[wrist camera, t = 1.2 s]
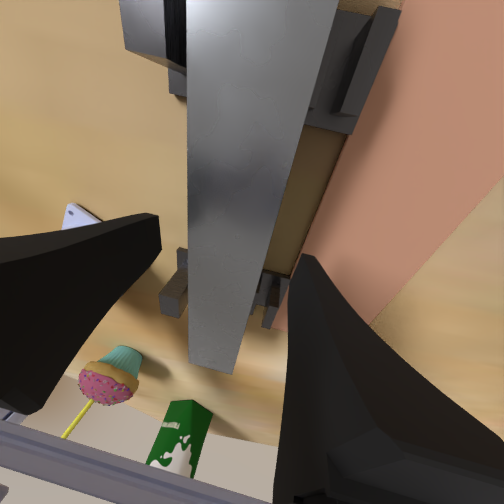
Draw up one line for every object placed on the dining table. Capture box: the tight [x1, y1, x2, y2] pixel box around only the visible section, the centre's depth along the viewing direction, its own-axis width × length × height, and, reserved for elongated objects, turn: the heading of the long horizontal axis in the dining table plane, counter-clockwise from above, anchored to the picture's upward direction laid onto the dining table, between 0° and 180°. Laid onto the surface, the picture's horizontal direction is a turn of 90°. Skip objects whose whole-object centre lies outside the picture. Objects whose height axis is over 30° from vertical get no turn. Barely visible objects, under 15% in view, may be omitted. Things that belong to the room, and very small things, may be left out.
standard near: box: [119, 0, 402, 135], centre depth 8 cm, size 4×11×5 cm, turn 79°
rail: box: [186, 0, 339, 375], centre depth 11 cm, size 26×4×4 cm, turn 169°
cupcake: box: [61, 346, 142, 439], centre depth 29 cm, size 9×8×12 cm
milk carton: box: [145, 400, 213, 479], centre depth 35 cm, size 9×9×20 cm
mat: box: [271, 0, 504, 332], centre depth 15 cm, size 27×9×1 cm, turn 169°
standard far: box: [159, 247, 291, 329], centre depth 18 cm, size 4×11×5 cm, turn 79°
